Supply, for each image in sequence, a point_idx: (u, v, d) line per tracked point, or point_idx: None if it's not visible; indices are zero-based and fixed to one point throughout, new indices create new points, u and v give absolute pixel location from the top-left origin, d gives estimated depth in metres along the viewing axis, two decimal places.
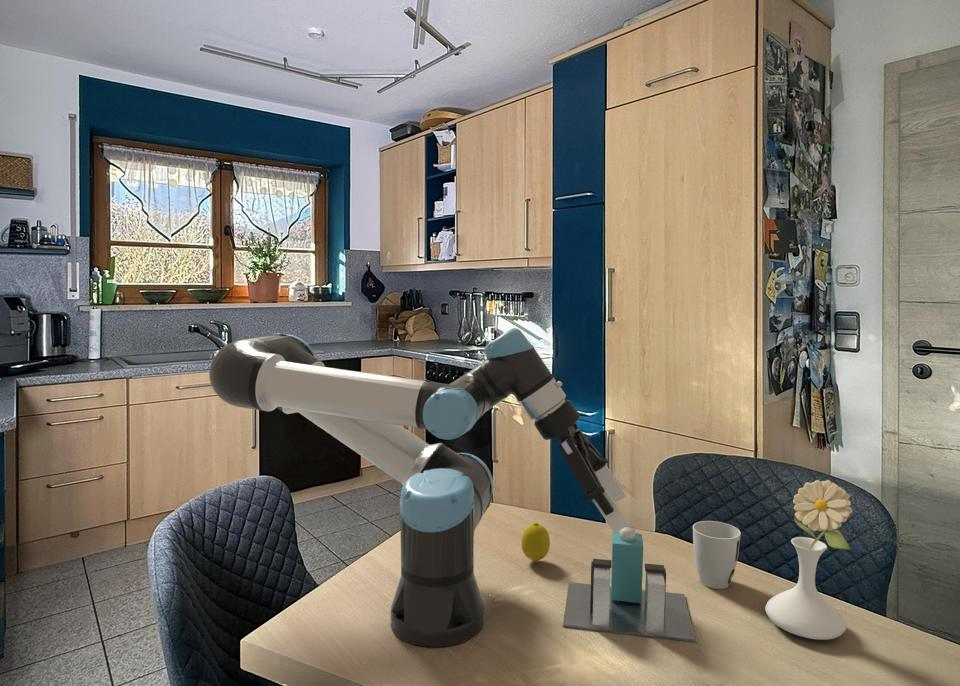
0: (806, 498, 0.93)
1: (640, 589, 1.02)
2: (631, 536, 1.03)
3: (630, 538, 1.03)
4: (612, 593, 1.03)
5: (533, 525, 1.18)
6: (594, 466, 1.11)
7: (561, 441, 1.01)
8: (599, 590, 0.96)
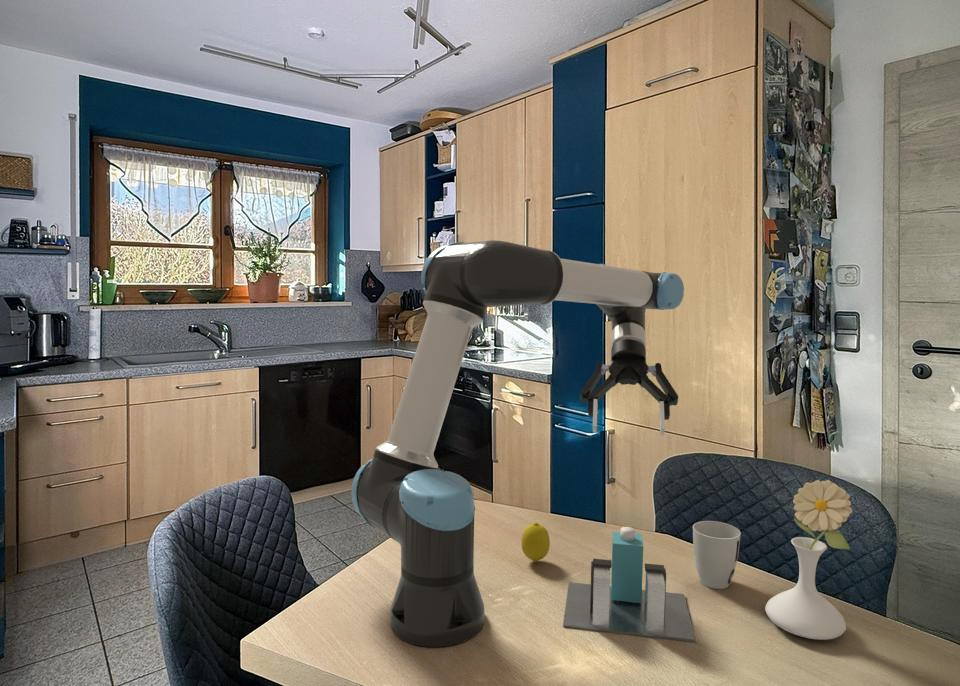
0: (806, 498, 0.93)
1: (640, 589, 1.02)
2: (631, 536, 1.03)
3: (630, 538, 1.03)
4: (612, 593, 1.03)
5: (533, 525, 1.18)
6: (594, 397, 1.29)
7: (646, 364, 1.32)
8: (599, 590, 0.96)
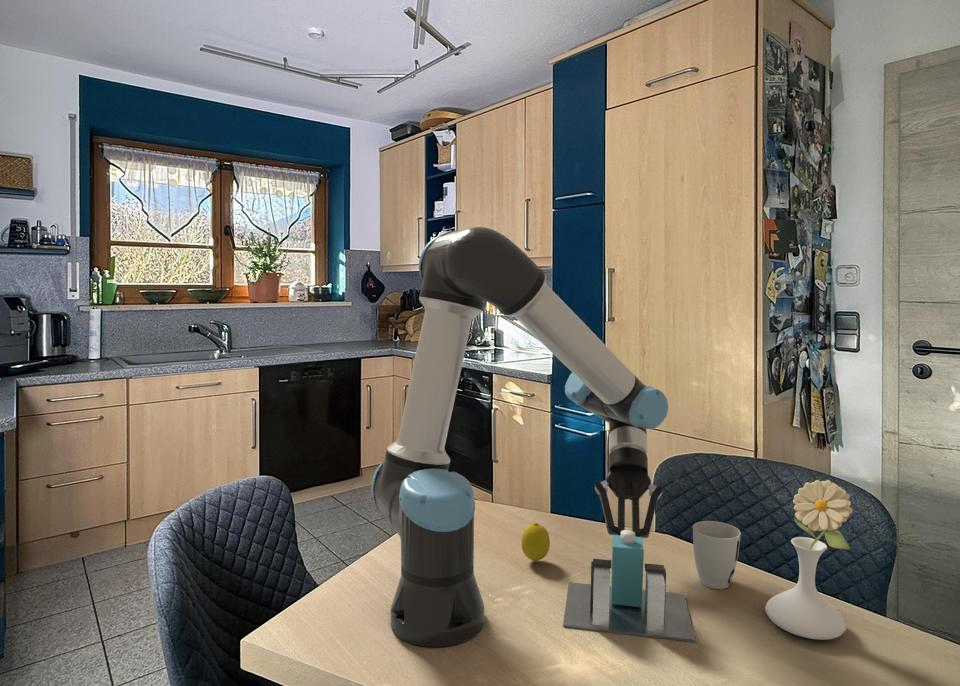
0: (806, 498, 0.93)
1: (640, 593, 1.01)
2: (631, 539, 1.02)
3: (630, 541, 1.02)
4: (612, 597, 1.02)
5: (533, 525, 1.18)
6: None
7: (650, 480, 1.17)
8: (599, 590, 0.96)
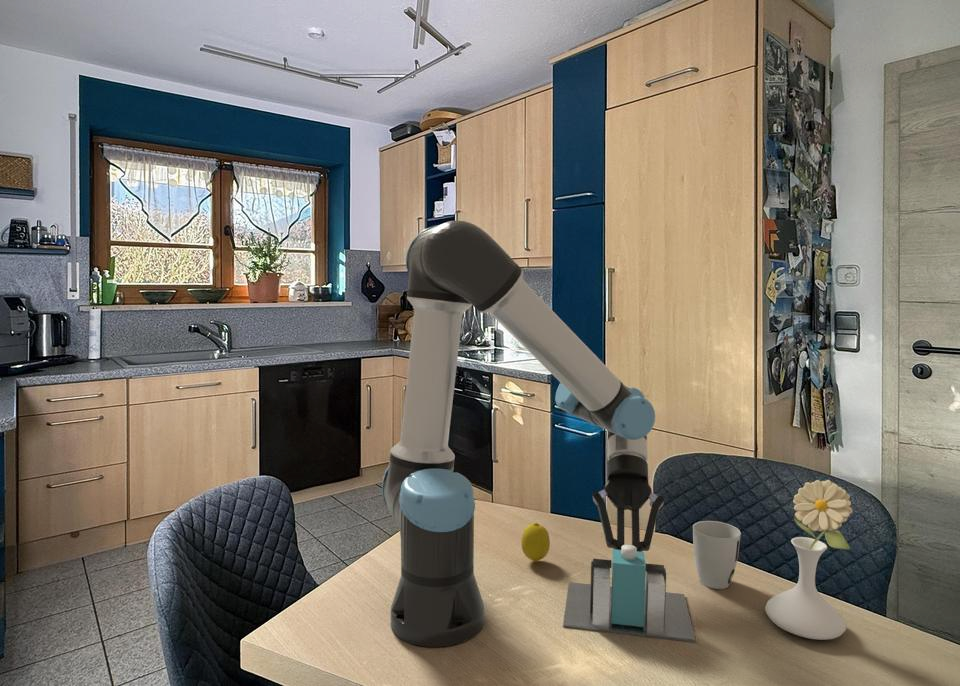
0: (806, 498, 0.93)
1: (642, 612, 0.95)
2: (633, 555, 0.96)
3: (632, 557, 0.96)
4: (612, 616, 0.96)
5: (533, 525, 1.18)
6: None
7: (651, 489, 1.11)
8: (599, 590, 0.96)
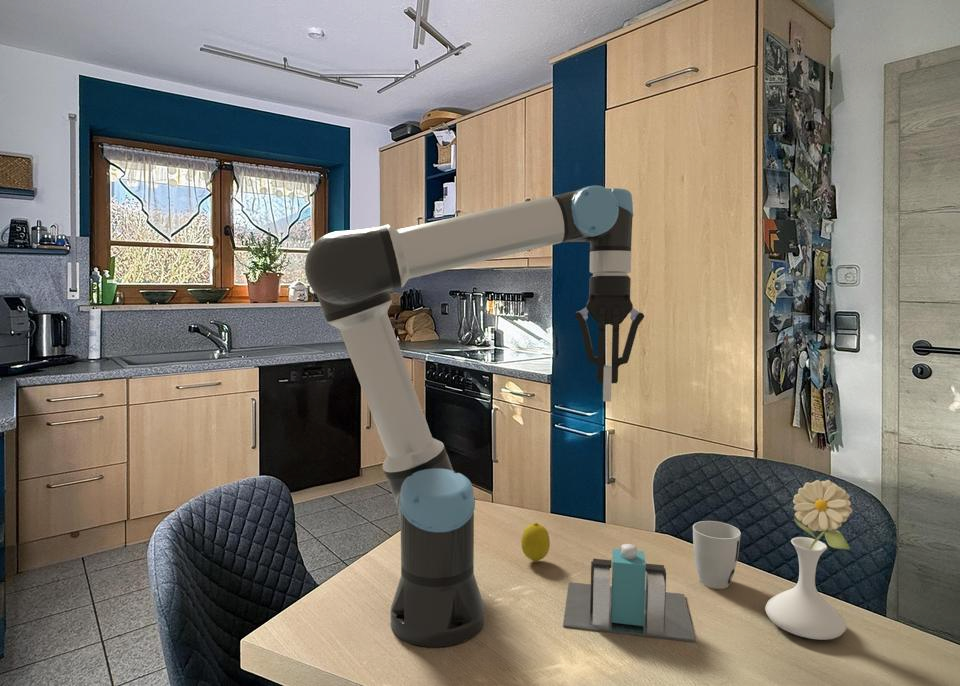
0: (806, 498, 0.93)
1: (642, 611, 0.95)
2: (633, 554, 0.96)
3: (631, 556, 0.96)
4: (612, 615, 0.96)
5: (533, 525, 1.18)
6: (603, 362, 1.14)
7: (632, 305, 1.12)
8: (599, 590, 0.96)
